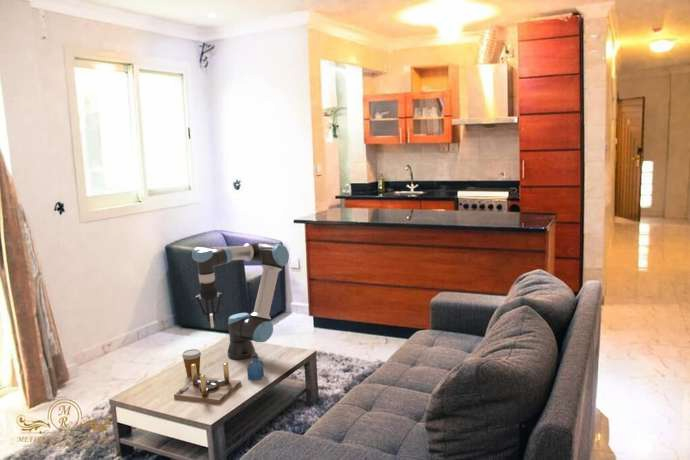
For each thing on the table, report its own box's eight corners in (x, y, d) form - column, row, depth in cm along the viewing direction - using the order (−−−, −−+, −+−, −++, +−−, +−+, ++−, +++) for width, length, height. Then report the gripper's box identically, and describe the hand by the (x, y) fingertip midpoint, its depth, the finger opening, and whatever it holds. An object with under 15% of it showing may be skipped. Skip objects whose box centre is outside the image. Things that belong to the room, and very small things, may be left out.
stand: (198, 379, 290) (197, 372, 289) (241, 384, 282) (240, 377, 282) (174, 398, 270) (173, 391, 269) (219, 404, 263) (218, 396, 262)
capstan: (179, 390, 273) (177, 371, 271) (206, 375, 288) (204, 357, 287) (204, 396, 265) (202, 377, 263) (230, 381, 280) (229, 363, 279)
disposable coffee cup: (202, 369, 302) (200, 347, 300) (202, 376, 293) (200, 354, 291) (184, 371, 300) (182, 350, 298) (183, 379, 291) (181, 356, 289)
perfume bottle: (259, 380, 286) (258, 357, 284) (248, 379, 288) (246, 357, 286) (264, 375, 292) (262, 352, 290) (252, 374, 294) (250, 352, 292)
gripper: (220, 277, 285) (225, 322, 289) (193, 280, 282) (199, 326, 287) (221, 281, 278) (226, 327, 282) (193, 285, 275) (198, 331, 279)
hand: (212, 326), depth 284 cm, fingers closed
